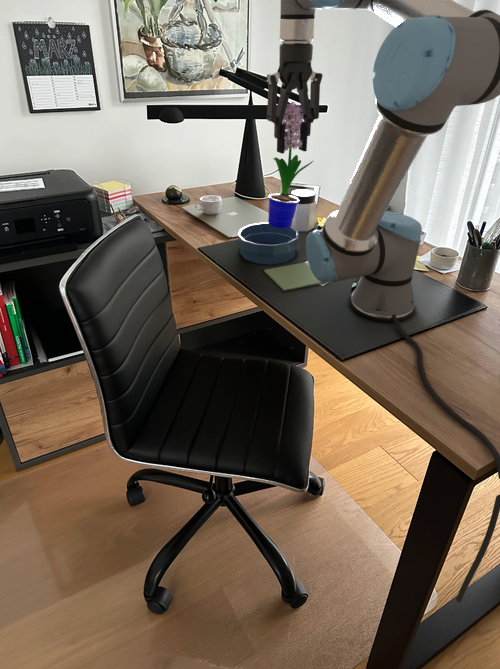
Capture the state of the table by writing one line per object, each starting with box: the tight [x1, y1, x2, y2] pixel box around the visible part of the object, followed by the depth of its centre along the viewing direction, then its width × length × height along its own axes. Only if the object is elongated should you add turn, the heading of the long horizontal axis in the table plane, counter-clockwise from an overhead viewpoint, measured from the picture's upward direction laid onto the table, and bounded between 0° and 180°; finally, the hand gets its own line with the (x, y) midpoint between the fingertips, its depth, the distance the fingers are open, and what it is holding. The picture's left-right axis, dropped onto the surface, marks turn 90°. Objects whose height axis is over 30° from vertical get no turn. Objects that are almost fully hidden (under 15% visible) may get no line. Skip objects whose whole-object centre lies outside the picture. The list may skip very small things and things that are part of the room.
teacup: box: [194, 194, 222, 216], centre depth 174 cm, size 10×8×5 cm
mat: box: [263, 262, 328, 292], centre depth 132 cm, size 13×13×1 cm
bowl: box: [237, 222, 300, 265], centre depth 144 cm, size 18×18×6 cm
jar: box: [290, 188, 317, 232], centre depth 161 cm, size 9×8×12 cm
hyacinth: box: [267, 101, 314, 228], centre depth 121 cm, size 9×10×30 cm
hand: (291, 151), depth 119 cm, fingers closed on hyacinth, 5 cm apart
